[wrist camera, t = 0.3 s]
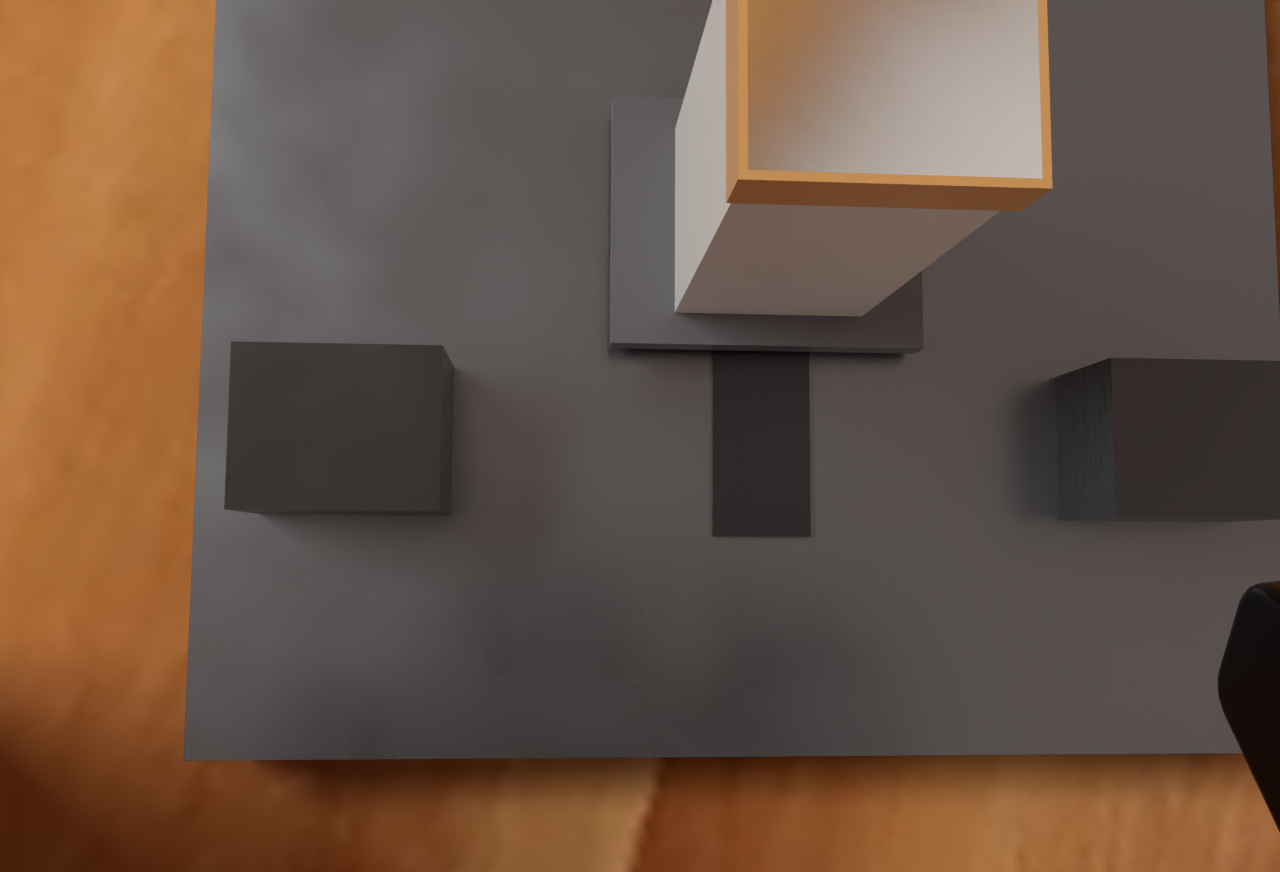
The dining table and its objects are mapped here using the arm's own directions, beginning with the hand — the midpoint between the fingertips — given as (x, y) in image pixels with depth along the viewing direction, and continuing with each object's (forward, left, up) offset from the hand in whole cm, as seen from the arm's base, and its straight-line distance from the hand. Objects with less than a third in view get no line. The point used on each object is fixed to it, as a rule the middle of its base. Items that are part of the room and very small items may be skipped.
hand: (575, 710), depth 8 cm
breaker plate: (+2, -6, -13) cm, 15 cm away
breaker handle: (+3, -7, -11) cm, 13 cm away
